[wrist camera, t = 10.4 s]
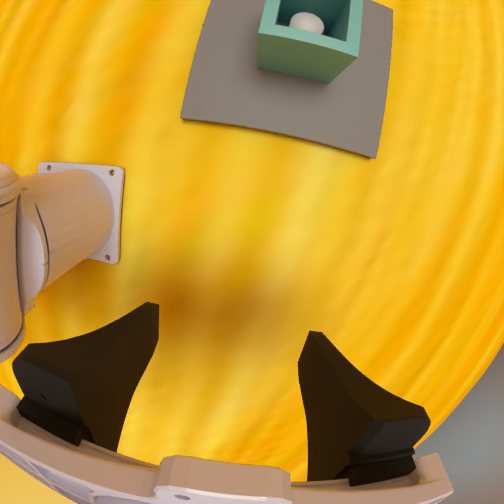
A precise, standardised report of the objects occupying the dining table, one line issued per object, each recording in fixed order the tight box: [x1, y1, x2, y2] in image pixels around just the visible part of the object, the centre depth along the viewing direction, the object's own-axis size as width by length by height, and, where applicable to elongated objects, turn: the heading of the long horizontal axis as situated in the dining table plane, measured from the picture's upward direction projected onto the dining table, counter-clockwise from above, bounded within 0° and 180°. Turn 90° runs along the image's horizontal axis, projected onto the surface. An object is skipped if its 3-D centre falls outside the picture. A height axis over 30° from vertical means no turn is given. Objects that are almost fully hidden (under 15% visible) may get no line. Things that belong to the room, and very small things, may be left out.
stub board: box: [180, 0, 393, 159], centre depth 14 cm, size 14×14×4 cm
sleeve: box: [257, 0, 363, 84], centre depth 12 cm, size 5×5×6 cm
